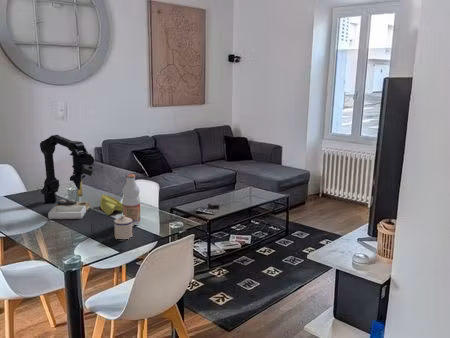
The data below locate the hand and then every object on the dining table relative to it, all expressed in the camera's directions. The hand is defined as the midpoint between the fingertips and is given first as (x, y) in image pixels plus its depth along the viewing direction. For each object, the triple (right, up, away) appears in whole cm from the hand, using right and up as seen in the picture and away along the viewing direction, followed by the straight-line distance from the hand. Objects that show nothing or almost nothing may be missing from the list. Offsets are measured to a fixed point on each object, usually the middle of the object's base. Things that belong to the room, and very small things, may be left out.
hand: (79, 188), depth 243 cm
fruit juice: (+35, -19, -18) cm, 44 cm away
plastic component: (+19, -13, +5) cm, 23 cm away
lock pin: (0, -4, +1) cm, 4 cm away
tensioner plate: (-5, -12, +4) cm, 14 cm away
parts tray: (-4, -15, -8) cm, 17 cm away
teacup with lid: (+34, -23, -35) cm, 54 cm away
